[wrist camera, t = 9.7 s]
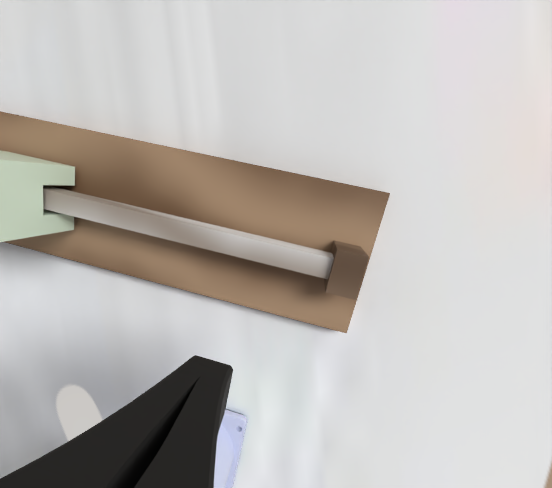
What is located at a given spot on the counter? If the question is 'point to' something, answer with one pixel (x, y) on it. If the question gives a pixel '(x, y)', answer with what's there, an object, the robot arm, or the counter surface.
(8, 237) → the sleeve
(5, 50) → the counter surface
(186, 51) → the counter surface
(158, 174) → the rod board
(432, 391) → the counter surface
